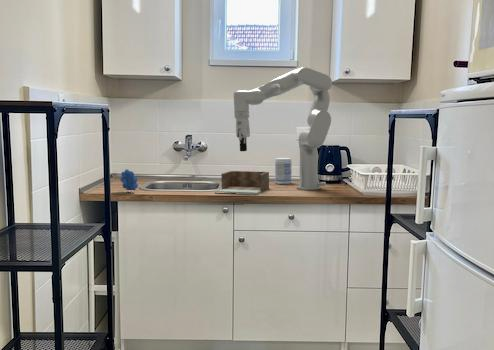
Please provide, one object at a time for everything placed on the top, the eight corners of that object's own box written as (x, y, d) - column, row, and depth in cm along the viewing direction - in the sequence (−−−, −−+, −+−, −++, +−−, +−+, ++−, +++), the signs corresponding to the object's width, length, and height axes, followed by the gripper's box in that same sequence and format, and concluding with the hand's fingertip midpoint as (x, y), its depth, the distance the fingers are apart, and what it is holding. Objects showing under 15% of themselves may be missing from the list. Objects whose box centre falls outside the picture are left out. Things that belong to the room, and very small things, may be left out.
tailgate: (261, 190, 241) (256, 192, 232) (261, 192, 241) (256, 195, 232) (220, 189, 247) (214, 191, 239) (220, 191, 247) (214, 193, 239)
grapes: (115, 192, 245) (114, 169, 243) (124, 190, 250) (124, 168, 249) (131, 194, 239) (130, 170, 237) (141, 192, 244) (140, 169, 243)
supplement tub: (287, 184, 270) (287, 159, 268) (272, 183, 274) (272, 158, 272) (294, 182, 278) (294, 158, 276) (279, 182, 283) (279, 157, 281)
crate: (268, 188, 256) (268, 171, 255) (261, 192, 242) (261, 174, 241) (230, 186, 263) (230, 170, 262) (221, 190, 249) (221, 173, 248)
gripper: (245, 115, 232) (246, 152, 234) (252, 114, 246) (254, 149, 248) (230, 115, 234) (232, 152, 236) (238, 115, 248) (240, 150, 251)
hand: (243, 151), depth 242 cm, fingers closed
